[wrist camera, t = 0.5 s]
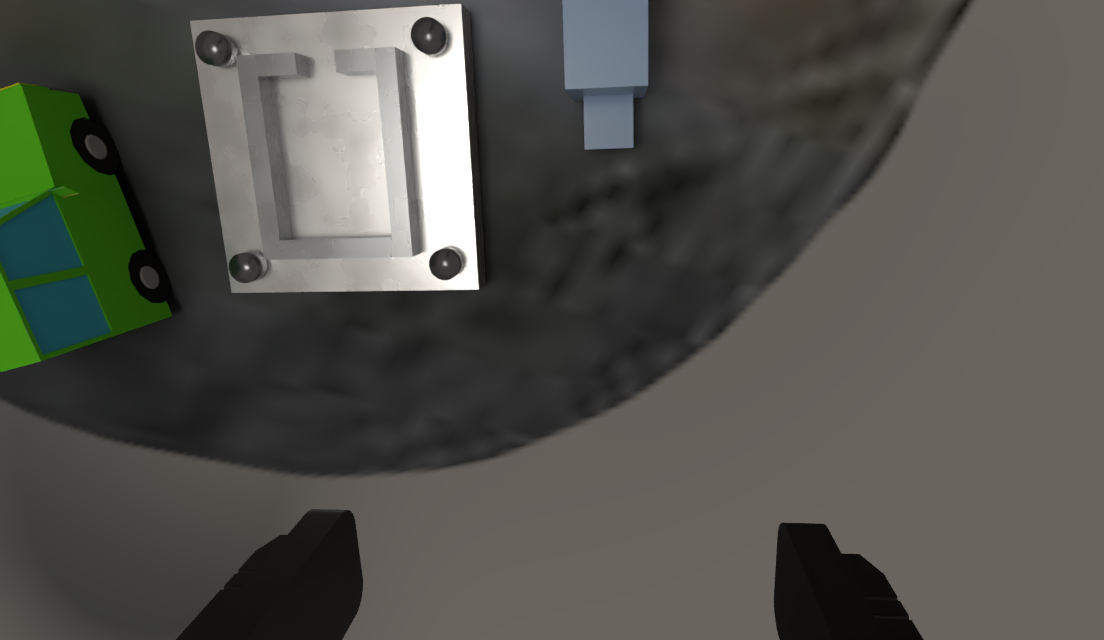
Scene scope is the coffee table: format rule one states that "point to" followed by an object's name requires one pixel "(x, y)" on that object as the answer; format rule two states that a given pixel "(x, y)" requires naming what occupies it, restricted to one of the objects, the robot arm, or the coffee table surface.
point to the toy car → (66, 233)
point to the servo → (606, 65)
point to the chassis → (345, 149)
